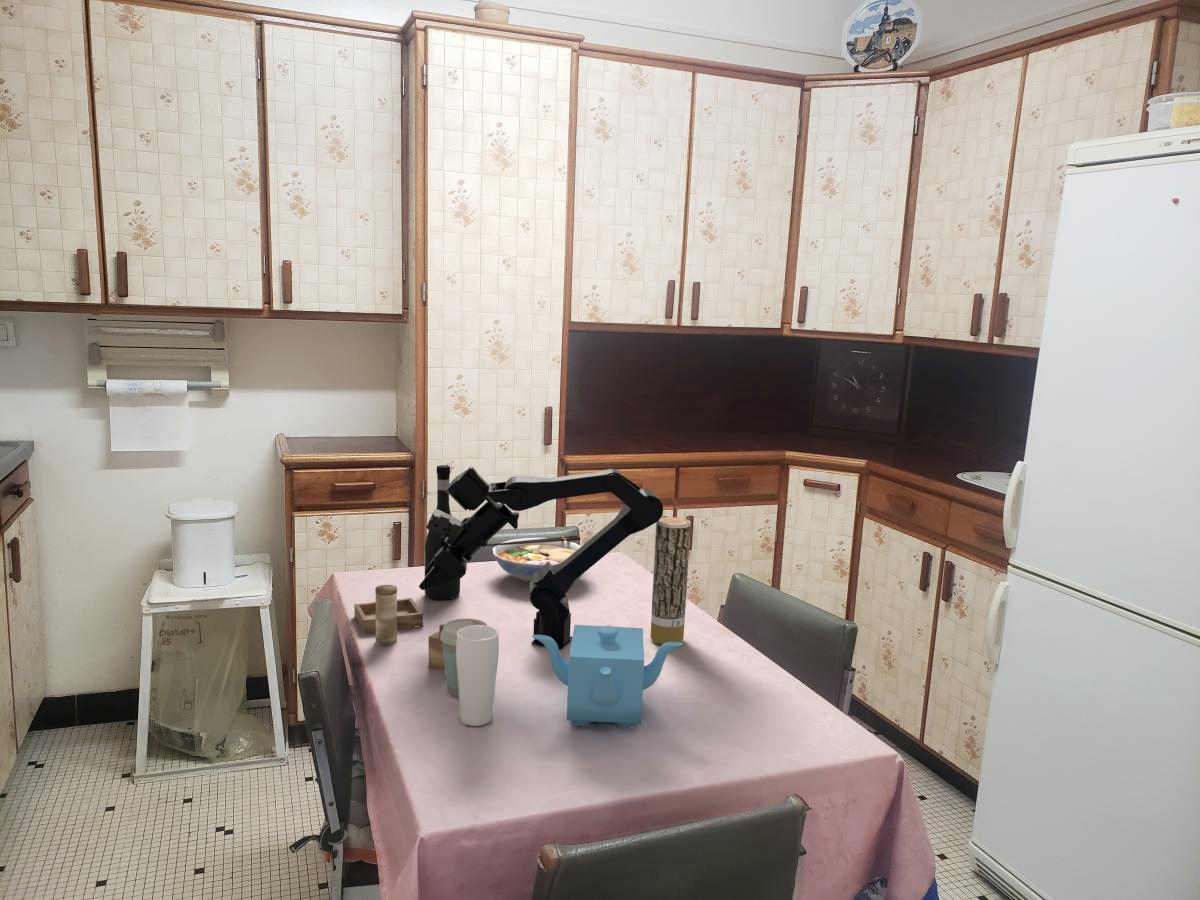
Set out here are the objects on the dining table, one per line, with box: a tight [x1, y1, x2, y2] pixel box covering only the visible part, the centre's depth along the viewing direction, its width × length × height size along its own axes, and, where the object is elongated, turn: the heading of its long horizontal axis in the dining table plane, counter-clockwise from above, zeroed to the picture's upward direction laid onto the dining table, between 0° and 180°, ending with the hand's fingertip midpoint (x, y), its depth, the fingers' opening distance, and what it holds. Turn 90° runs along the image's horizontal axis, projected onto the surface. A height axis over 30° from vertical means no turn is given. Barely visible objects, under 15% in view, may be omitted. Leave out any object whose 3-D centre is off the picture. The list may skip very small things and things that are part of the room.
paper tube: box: [649, 516, 691, 646], centre depth 178 cm, size 7×7×25 cm
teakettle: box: [531, 624, 685, 729], centre depth 146 cm, size 19×19×15 cm
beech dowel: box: [374, 584, 398, 647], centre depth 173 cm, size 4×4×11 cm
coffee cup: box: [440, 618, 488, 700], centre depth 152 cm, size 8×9×12 cm
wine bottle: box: [424, 464, 461, 601], centre depth 199 cm, size 8×8×30 cm
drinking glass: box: [456, 625, 500, 727], centre depth 142 cm, size 7×7×15 cm
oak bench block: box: [427, 623, 446, 672], centre depth 161 cm, size 3×10×8 cm, turn 68°
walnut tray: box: [353, 597, 424, 635], centre depth 184 cm, size 12×10×3 cm
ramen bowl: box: [485, 534, 582, 584], centre depth 214 cm, size 25×23×8 cm
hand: (423, 580), depth 172 cm, fingers open, 9 cm apart
